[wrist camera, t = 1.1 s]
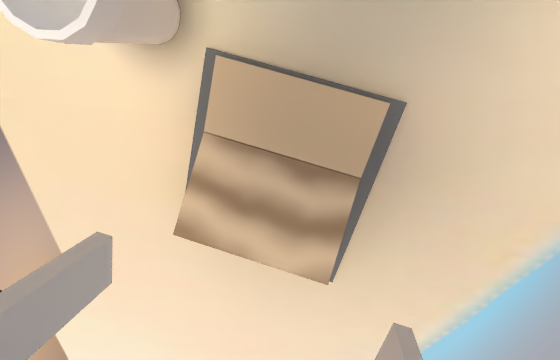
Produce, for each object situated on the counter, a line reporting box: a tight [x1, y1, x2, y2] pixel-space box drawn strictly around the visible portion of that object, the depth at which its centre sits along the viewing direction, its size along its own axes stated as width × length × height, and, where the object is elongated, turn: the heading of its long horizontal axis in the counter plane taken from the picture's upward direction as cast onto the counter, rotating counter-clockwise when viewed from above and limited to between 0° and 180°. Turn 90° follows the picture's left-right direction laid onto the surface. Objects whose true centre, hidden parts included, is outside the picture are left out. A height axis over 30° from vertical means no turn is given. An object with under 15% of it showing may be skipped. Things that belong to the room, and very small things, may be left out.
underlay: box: [185, 48, 407, 282], centre depth 32 cm, size 24×22×3 cm
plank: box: [173, 132, 360, 285], centre depth 30 cm, size 12×18×2 cm, turn 75°
